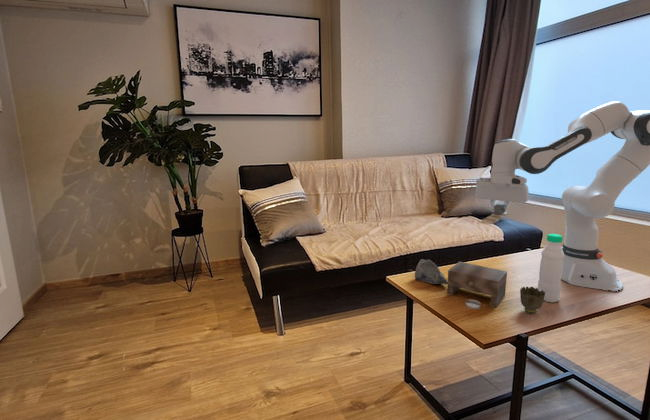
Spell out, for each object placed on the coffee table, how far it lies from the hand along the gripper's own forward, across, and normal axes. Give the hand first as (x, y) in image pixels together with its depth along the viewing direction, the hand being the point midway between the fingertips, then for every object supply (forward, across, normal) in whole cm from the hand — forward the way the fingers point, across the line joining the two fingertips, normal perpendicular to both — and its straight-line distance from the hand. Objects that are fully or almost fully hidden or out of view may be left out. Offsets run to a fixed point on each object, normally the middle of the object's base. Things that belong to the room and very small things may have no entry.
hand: (499, 210), depth 147 cm
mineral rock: (+29, -19, -25) cm, 43 cm away
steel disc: (+29, +2, -35) cm, 46 cm away
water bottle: (+29, +22, -12) cm, 39 cm away
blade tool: (+2, 0, -7) cm, 7 cm away
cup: (+29, +19, -27) cm, 44 cm away
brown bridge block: (+29, 0, -26) cm, 39 cm away
